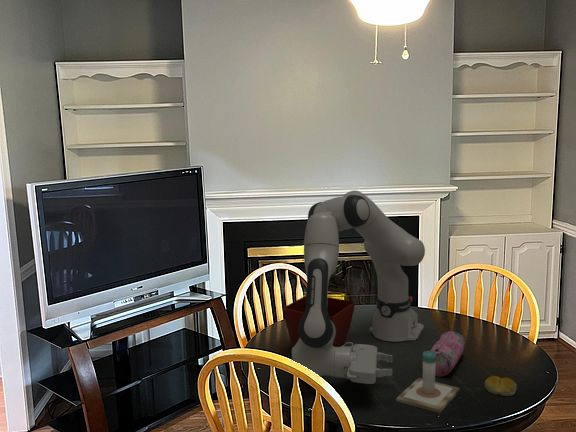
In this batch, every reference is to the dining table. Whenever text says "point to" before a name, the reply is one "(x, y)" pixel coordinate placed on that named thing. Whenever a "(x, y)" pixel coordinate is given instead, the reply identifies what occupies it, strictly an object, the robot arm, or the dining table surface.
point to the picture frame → (428, 396)
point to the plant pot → (337, 312)
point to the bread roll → (500, 386)
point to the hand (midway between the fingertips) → (392, 365)
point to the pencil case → (448, 352)
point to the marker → (428, 372)
